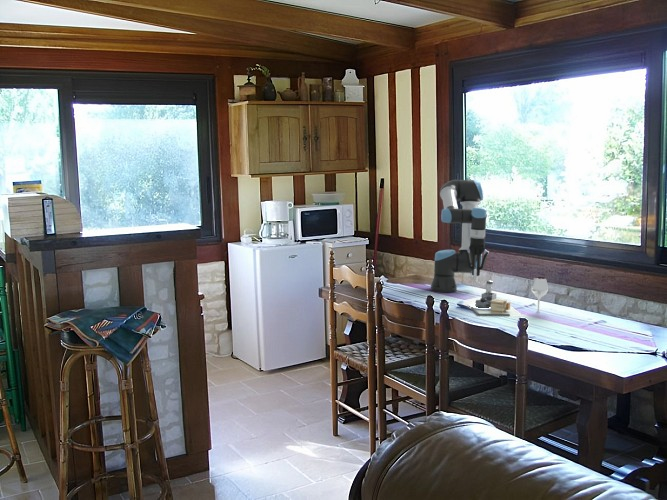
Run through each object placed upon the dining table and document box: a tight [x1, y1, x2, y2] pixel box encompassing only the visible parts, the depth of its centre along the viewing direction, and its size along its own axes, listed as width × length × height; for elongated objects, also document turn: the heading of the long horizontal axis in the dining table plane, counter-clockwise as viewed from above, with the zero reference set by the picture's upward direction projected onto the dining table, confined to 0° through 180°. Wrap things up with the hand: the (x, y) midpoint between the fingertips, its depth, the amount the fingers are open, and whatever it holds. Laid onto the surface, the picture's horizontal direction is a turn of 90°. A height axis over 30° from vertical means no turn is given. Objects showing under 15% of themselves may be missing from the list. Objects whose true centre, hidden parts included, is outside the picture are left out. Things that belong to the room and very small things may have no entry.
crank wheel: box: [475, 291, 511, 310], centre depth 358 cm, size 14×18×6 cm
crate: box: [490, 298, 508, 314], centre depth 349 cm, size 6×6×6 cm
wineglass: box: [530, 276, 549, 314], centre depth 350 cm, size 8×8×18 cm
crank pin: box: [485, 279, 494, 295], centre depth 362 cm, size 3×3×10 cm
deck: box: [468, 304, 525, 318], centre depth 354 cm, size 29×23×1 cm
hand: (475, 281), depth 366 cm, fingers closed
